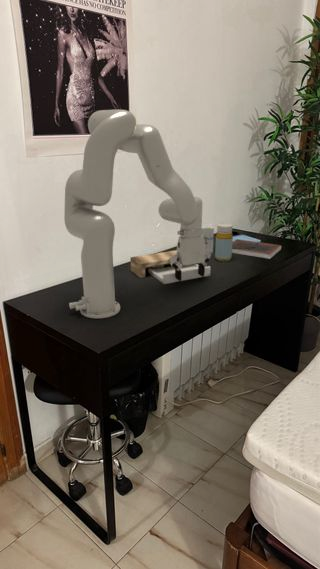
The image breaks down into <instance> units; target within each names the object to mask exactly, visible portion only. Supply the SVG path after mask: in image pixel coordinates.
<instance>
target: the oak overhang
mask: <svg viewBox="0 0 320 569" xmlns="http://www.w3.org/2000/svg"><path fill="white" fill-rule="evenodd" d="M176 252H177V249H176V250H169V251H161V252H157V253H151V254H150V253H149V254H143V255H138V256H131V257H130V271H131V272H132V273H133V274H135V275H136V276H137V277H138V278H140V279H142V278H146V270H148V268H150V269H152V270H154V269H160V268H165V266H171V264H170V262H169V258H171V257H172V256H174V255H175V254H176ZM205 257H206V254H205ZM174 263H175V264H176V263H177V260H175V261H174ZM199 264H200V263H198V265H199ZM205 267H208V262H207V263H206V266H205Z"/></svg>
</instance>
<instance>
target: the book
mask: <svg viewBox="0 0 320 569" xmlns="http://www.w3.org/2000/svg"><path fill="white" fill-rule="evenodd" d="M281 250H282V244H281V245H280V244H273V243H265V242H262V241H261V242H254V241H247V240H240V239H237V240H235V241H233V242H232V254H236V255H237V254H239V255H243V256H244V255H246V256H251V257H255V258H256V257H257V258H263V259H269V260H270V259H272V258H273V257H274V256H275V255H276V254H277V253H279V252H280V251H281Z"/></svg>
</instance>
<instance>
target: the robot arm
mask: <svg viewBox="0 0 320 569" xmlns="http://www.w3.org/2000/svg"><path fill="white" fill-rule="evenodd" d="M87 127H88V131H89V134H90V135H89V137H88V139H87V140H86V144H85V147H84V152H83V163H82V169H78V170H77V169H76V170H75V171H73V172H72V173H71V174H70V175H69V177H68V178H67V180H66V183H65V187H64V224H65V228H66V231H67V232H68V233H69V234H70V235H72V236H73V237H75V238H78V239H81V240H82V242H83V243H82V244H83V245H82V248H81V253H80V260H81V261H80V262H81V273H82V274H81V275H82V287H83V289H82V290H83V296H81V299H79V300H78V301H73V302H68V306H69V307H68V308H69V310H73V309H75V311H80V314H81V315H82V316H83V317H85V318H90V319H98V320H99V319H105V318H110V317H113V316H115V315H117V314H118V313H119V312H120V311H121V305H120V303H119V302H117V301H116V297H115V296H116V295H115V293H116V292H115V272H114V256H113V255H114V254H113V253H114V251H113V250H114V249H113V248H114V241H115V240H114V239H115V233H116V232H115V231H116V229H115V228H116V227H115V224H114V221H113V219H112V218H111V217H110V216H109V215H108V214H107V213H105V212H102V211H100V210H96V209H94V207H103V206H106V205H107V204H109V202H110V201H111V199H112V194H113V183H114V182H113V181H114V179H113V178H114V165H115V160H116V158H115V157H116V155H117V153H118V151H119V150H120V151H122V152H126V153H132V154H137V156H138V159H139V160H140V163H141V165H142V168H143V169H144V172H145V174H146V178H147V179H148V180H149V182H150V183H151V184H153V185H154V186H155V187H157V188H158V189H160V190H161V191H163V192H164V193H165V194H166V195H168V196H169V197H170V198H167V199H165V200H162V202H160V204H159V206H158V214H159V216H160V217H161V218H162V219H163V220H164V221H168V222H171V223H176V224H179V225H180V228H179V230H178V231H177V235H179V236H178V239H177V244H176V250H177V252H176V254H175V255H174V256H172V257H171V258H169V262H170V264H171V265H170V267H174V268H175V277H176V279H177V280H179V281H178V282H182V281H181V270H180V269H181V268H182V266H183V265H184V266H186V265H193V264H198V263H200V264H198V274H199V275H201V276H202V277H201V278H203V276H204V273H205V267H207V266H206V263H207V264H208V263H209V261H210V258H211V256H212V253H210V252H207V251H205V242H204V237H203V235H201V233H202V224H203V199H202V198H201V197H196V196H194V193H193V192H192V189H191V188H190V187H189V185H188V184H187V183H186V181H185V180H184V179H183V178H182V176H180V174H178V172H177V171H176V170H175V169H174V166H172V163H171V160H170V157H169V155H168V152H167V148H166V147H165V144H164V141H163V139H162V135H161V133H160V131H159V130H158V128H157V127H155V126H154V125H151V124H143V123H142V124H140V123H139V124H137V119H136V117H135V115H134V114H133V113H132V112H131V111H129V110H127V109H117V108H116V109H102V110H101V109H100V110H96V111H95V112H93V113H92V114H91V115H90V117H89V118H88V120H87ZM205 254H206V257H205ZM175 260H177V263H176V264H175V263H174V261H175Z"/></svg>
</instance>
